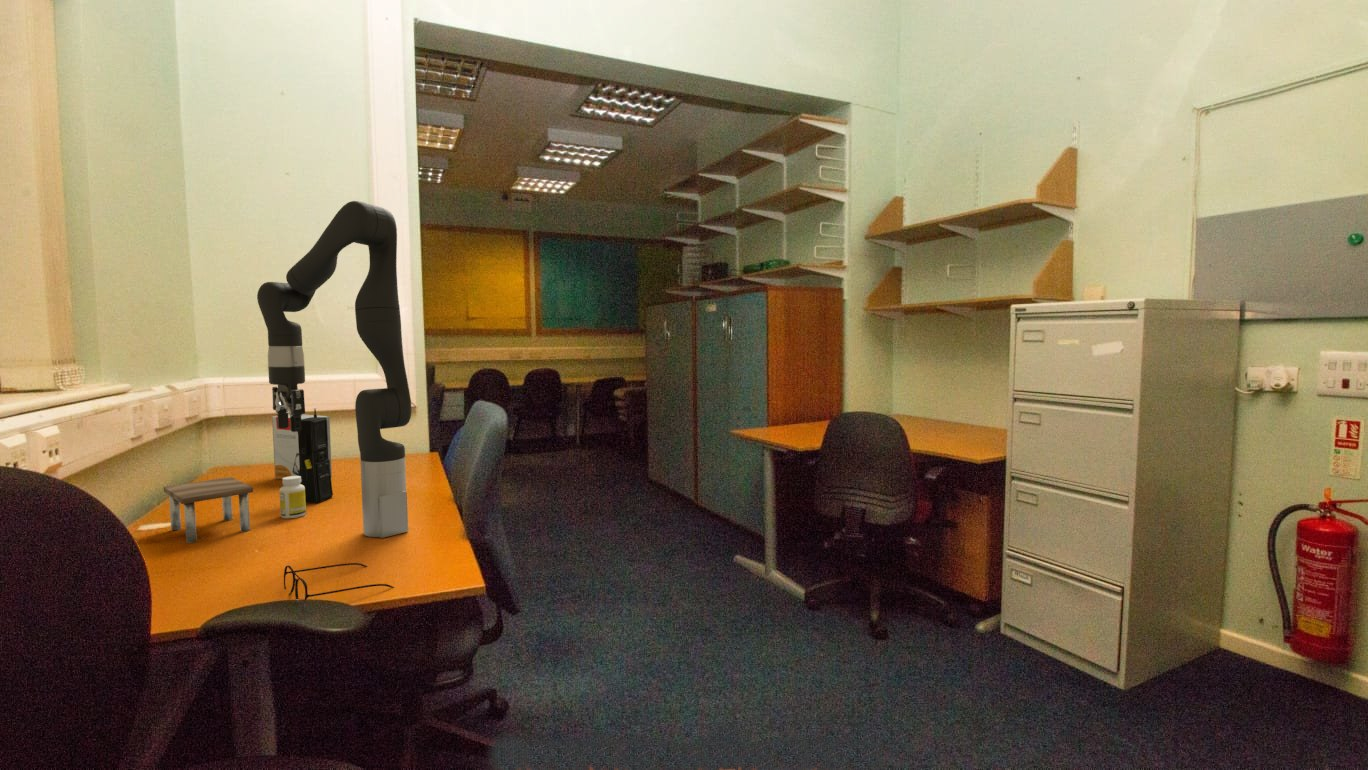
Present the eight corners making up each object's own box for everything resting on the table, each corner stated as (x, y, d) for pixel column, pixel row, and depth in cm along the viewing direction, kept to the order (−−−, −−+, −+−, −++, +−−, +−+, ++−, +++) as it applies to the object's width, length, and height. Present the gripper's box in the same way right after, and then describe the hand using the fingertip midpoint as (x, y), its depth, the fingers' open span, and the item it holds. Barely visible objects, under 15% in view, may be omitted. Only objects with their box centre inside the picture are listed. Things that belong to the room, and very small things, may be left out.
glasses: (281, 590, 111) (284, 562, 111) (369, 576, 122) (371, 551, 122) (303, 616, 101) (306, 585, 101) (396, 599, 112) (399, 571, 112)
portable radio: (317, 504, 164) (313, 412, 162) (295, 504, 164) (290, 411, 162) (334, 497, 172) (330, 408, 170) (313, 496, 172) (309, 408, 170)
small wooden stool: (255, 530, 143) (252, 487, 142) (184, 544, 133) (181, 498, 132) (233, 517, 153) (231, 476, 152) (166, 529, 143) (163, 486, 142)
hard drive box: (273, 479, 193) (270, 416, 191) (295, 474, 200) (292, 413, 198) (312, 483, 188) (309, 418, 186) (333, 477, 195) (330, 415, 194)
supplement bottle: (310, 512, 157) (308, 474, 156) (298, 519, 152) (296, 480, 151) (289, 512, 157) (287, 475, 156) (275, 519, 152) (273, 480, 151)
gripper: (314, 365, 150) (317, 431, 151) (292, 363, 159) (295, 425, 160) (279, 366, 144) (282, 434, 145) (258, 364, 153) (262, 428, 154)
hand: (289, 429), depth 153 cm, fingers open, 8 cm apart
